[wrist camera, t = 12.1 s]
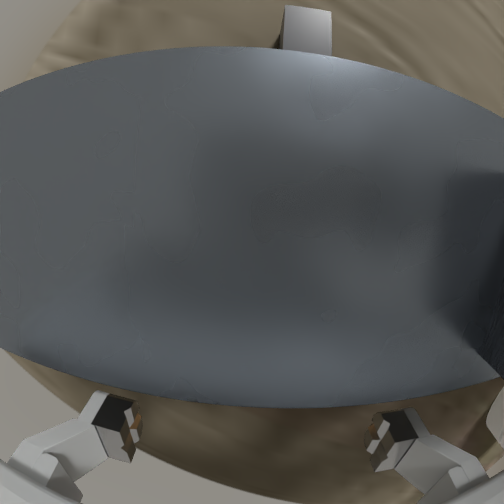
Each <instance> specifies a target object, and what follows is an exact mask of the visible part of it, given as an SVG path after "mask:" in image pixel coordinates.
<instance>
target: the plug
mask: <svg viewBox="0 0 504 504" xmlns="http://www.w3.org/2000/svg"><path fill="white" fill-rule="evenodd" d="M279 49H282V50H291V51H300V52H307V53H314V54H320V55H326V56H331V57H332V31H331V12H329V11H324V10H318V9H312V8H306V7H299V6H291V5H285V9H284V14H283V20H282V26H281V31H280V43H279Z"/></svg>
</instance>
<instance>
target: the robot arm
mask: <svg viewBox="0 0 504 504" xmlns="http://www.w3.org/2000/svg"><path fill="white" fill-rule="evenodd" d="M139 408H140V407H139V403H138V401H136V400H132V399H128V398H125V397H121V396H117V395H114V394H110V393H106V392H103V391H100V390H97V391H95V392H94V393H93V395H92V396H91V398H90V399H89V401H88V402H87V404H86V406H85V407H84V409H83V410H82V412H81V414H80V415H79V417H78V418H77V419H71V420H68V421H66V422H64V423H62V424H59V425H57V426H55V427H52V428H50V429H48V430H45V431H43V432H41V433H38V434H36V435H33V436H31V437H28V438H26V439H23V441H22V442H21V444H20V445H19V446H18V448H17V449H16V451H15V452H14V454H13V455H12V457H11V458H10V460H9V461H8V463H6V462H4V461H3V460H1V459H0V504H82V503H80V502H81V499H82V497H83V495H82V493H81V491H80V490H79V489H78V487H77V486H76V485H75V484H74V481H76V480H77V479H79V478H81V477H82V476H84V475H85V474H86V473H88V472H89V471H91V470H92V469H93V468H95V467H96V466H98V465H100V464H101V463H102V462H104V461H105V460H107V459H108V457H110V458H114V459H117V460H121V461H124V462H128V463H131V461H132V459H133V456H134V453H135V451H136V448H135V445H134V443H136V442H137V441H139V440H140V437H141V434H142V428H143V421H142V416H141V415H140V414H139V413H138V411H139ZM372 421H373V424H372V425H371V426H369V427H368V428H367V430H366V432H365V437H364V444H365V447H366V450H367V451H368V452H370V453H371V454H372V455H371V457H370V461H371V464H372V467H373V469H374V472H378V471H384V470H389V469H394V468H395V469H394V470H396V471H397V472H398V473H399V474H400V475H401V476H403V477H404V478H405V479H406V480H407V481H409V482H410V483H411V484H412V485H414V486H415V487H416V488H417V489H418V490H420V491H421V492H422V493H423V494H425V495H424V496H423V497H422V498H421V499H420V500H419V501H418V502H417V503H416V504H504V470H502V471H501V472H499V473H498V474H496V475H495V476H493V477H491V478H489V477H488V475H487V474H486V472H485V470H484V469H483V467H482V465H481V464H480V462H479V461H478V459H477V457H475V456H473V455H471V454H469V453H467V452H465V451H463V450H462V449H460V448H458V447H456V446H454V445H452V444H450V443H448V442H447V441H445V440H443V439H441V438H439V437H437V436H436V435H434V434H433V435H430V433H429V432H428V430H427V428H426V427H425V425H424V423H423V422H422V420H421V418H420V417H419V415H418V413H417V412H416V410H415V409H414V408H413V407H410V408H404V409H397V410H391V411H384V412H377V413H376V414H375V415H374V416H373V418H372Z"/></svg>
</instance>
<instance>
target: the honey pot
mask: <svg viewBox="0 0 504 504" xmlns="http://www.w3.org/2000/svg"><path fill="white" fill-rule="evenodd" d="M486 425H487V427H488V429H489V430H490V431H491V433H492V434H493V436H494V437H495V438H496V440H497V441H498V443H501V446H502V447H503V448H504V386H503V388H502V389H501V391H500V392H499V394H498V396H497V397H496V399H495V401H494V402H493V404H492V406H491V408H490V410H489V413H488V415H487V419H486Z"/></svg>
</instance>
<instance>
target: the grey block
mask: <svg viewBox="0 0 504 504" xmlns="http://www.w3.org/2000/svg"><path fill="white" fill-rule="evenodd" d="M0 348H2V349H4V350H7V351H9V352H11V353H14V354H16V355H18V356H21V357H23V358H26V359H28V360H31V361H33V362H36V363H38V364H41V365H44V366H46V367H49V368H52V369H55V370H58V371H61V372H64V373H67V374H70V375H73V376H76V377H80V378H83V379H87V380H90V381H94V382H97V383H101V384H105V385H109V386H113V387H117V388H121V389H125V390H130V391H134V392H139V393H144V394H149V395H154V396H160V397H166V398H172V399H178V400H185V401H192V402H200V403H208V404H218V405H229V406H242V407H261V408H324V407H343V406H356V405H366V404H376V403H384V402H392V401H399V400H405V399H411V398H417V397H422V396H428V395H433V394H438V393H442V392H447V391H451V390H455V389H459V388H463V387H467V386H471V385H474V384H478V383H481V382H485V381H488V380H491V379H495V378H498V377H502V378H503V379H504V118H502V117H500V116H498V115H496V114H495V113H493V112H491V111H489V110H487V109H485V108H483V107H481V106H479V105H477V104H475V103H473V102H471V101H469V100H467V99H465V98H463V97H460V96H458V95H456V94H454V93H451V92H449V91H447V90H444V89H442V88H439V87H437V86H434V85H432V84H429V83H426V82H424V81H421V80H418V79H415V78H412V77H409V76H406V75H403V74H400V73H397V72H393V71H390V70H387V69H383V68H380V67H376V66H372V65H368V64H364V63H360V62H356V61H351V60H347V59H342V58H337V57H331V56H326V55H320V54H314V53H307V52H300V51H291V50H282V49H271V48H257V47H188V48H174V49H163V50H154V51H146V52H138V53H132V54H126V55H120V56H115V57H109V58H104V59H100V60H95V61H91V62H87V63H83V64H79V65H75V66H71V67H68V68H64V69H61V70H58V71H55V72H51V73H48V74H45V75H42V76H39V77H37V78H34V79H31V80H28V81H26V82H23V83H21V84H18V85H16V86H13V87H11V88H9V89H6V90H4V91H2V92H0Z"/></svg>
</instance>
